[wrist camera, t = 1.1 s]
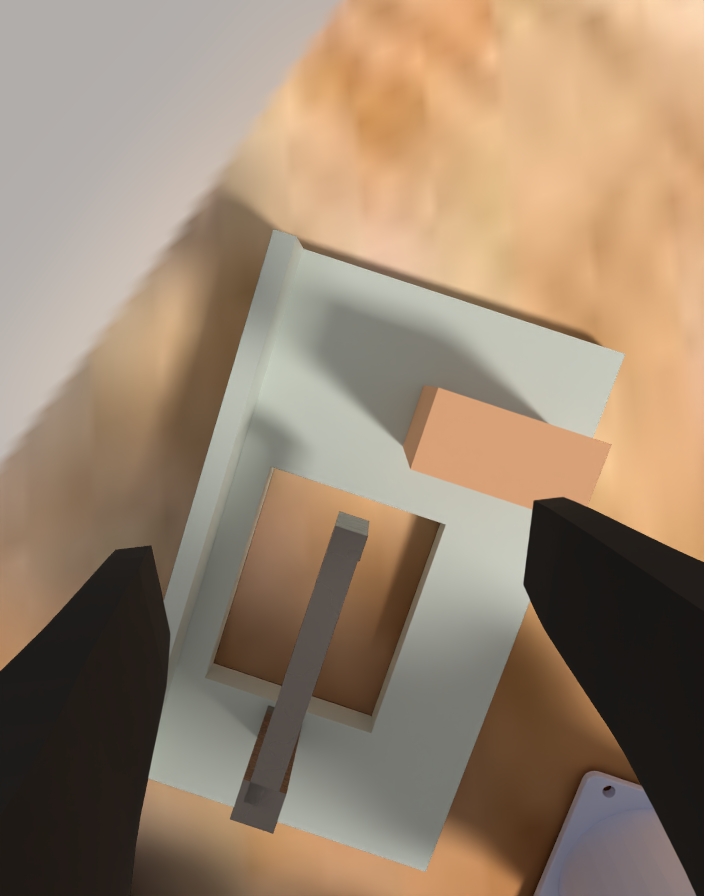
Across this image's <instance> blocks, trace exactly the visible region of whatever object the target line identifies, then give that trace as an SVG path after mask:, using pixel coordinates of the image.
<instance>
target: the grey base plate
mask: <svg viewBox="0 0 704 896" xmlns="http://www.w3.org/2000/svg"><path fill="white" fill-rule="evenodd" d="M624 356H625V354H624V353H621V352H618V351H614V350H611V349H608V348H605V347H602V346H599V345H596V344H593V343H590V342H587V341H584V340H581V339H578V338H575V337H572V336H569V335H566V334H563V333H560V332H556V331H553V330H550V329H547V328H544V327H541V326H538V325H535V324H532V323H529V322H526V321H523V320H520V319H517V318H514V317H511V316H508V315H505V314H502V313H499V312H495V311H492V310H489V309H486V308H483V307H480V306H477V305H474V304H471V303H468V302H465V301H462V300H459V299H456V298H453V297H450V296H447V295H444V294H441V293H437V292H434V291H431V290H428V289H425V288H422V287H419V286H416V285H413V284H410V283H407V282H404V281H401V280H398V279H395V278H392V277H389V276H386V275H383V274H379V273H376V272H373V271H370V270H367V269H364V268H361V267H358V266H355V265H352V264H349V263H346V262H343V261H340V260H337V259H334V258H331V257H328V256H325V255H321V254H318V253H315V252H312V251H309V250H306V249H304V248H303V247H302V245H301V243H300V242H299V240H298V238H297V237H296V236H293V235H290V234H287V233H284V232H281V231H278V230H275V229H273V232H272V236H271V239H270V242H269V246H268V249H267V253H266V256H265V259H264V263H263V266H262V270H261V273H260V276H259V280H258V283H257V286H256V290H255V293H254V297H253V300H252V303H251V307H250V310H249V314H248V317H247V320H246V324H245V327H244V331H243V334H242V337H241V341H240V344H239V347H238V351H237V354H236V358H235V361H234V364H233V368H232V371H231V375H230V378H229V381H228V385H227V388H226V392H225V395H224V398H223V402H222V405H221V408H220V412H219V415H218V419H217V422H216V425H215V429H214V432H213V436H212V439H211V442H210V446H209V449H208V453H207V456H206V459H205V463H204V466H203V469H202V473H201V476H200V480H199V483H198V486H197V490H196V493H195V497H194V500H193V503H192V507H191V510H190V513H189V517H188V520H187V524H186V527H185V530H184V534H183V537H182V541H181V544H180V547H179V551H178V554H177V558H176V561H175V564H174V568H173V571H172V574H171V578H170V581H169V585H168V588H167V591H166V595H165V598H164V606H165V611H166V615H167V620H168V624H169V629H170V633H171V635H170V650H169V664H168V676H167V687H166V692H165V698H164V703H163V708H162V713H161V718H160V723H159V728H158V733H157V738H156V743H155V748H154V752H153V757H152V762H151V767H150V772H149V777H148V779H151V780H154V781H157V782H160V783H163V784H166V785H169V786H172V787H175V788H178V789H181V790H184V791H187V792H190V793H193V794H196V795H199V796H202V797H204V798H207V799H210V800H213V801H216V802H219V803H222V804H225V805H228V806H231V807H234V805H235V802H236V799H237V796H238V793H239V790H240V787H241V784H242V781H243V778H244V775H245V772H246V769H247V766H248V763H249V760H250V757H251V754H252V751H253V748H254V745H255V742H256V739H257V737H258V734H259V731H260V728H261V725H262V722H263V719H264V716H265V713H266V710H267V707H268V705H269V706H272V707H275V705H276V702H277V699H278V696H279V693H280V690H281V687H282V686H280V685H277V684H274V683H271V682H268V681H265V680H262V679H259V678H256V677H253V676H250V675H247V674H244V673H241V672H239V671H236V670H233V669H230V668H227V667H224V666H221V665H218V664H215V663H214V659H215V656H216V653H217V650H218V647H219V643H220V640H221V637H222V634H223V631H224V627H225V624H226V621H227V618H228V615H229V611H230V608H231V605H232V602H233V599H234V595H235V592H236V589H237V586H238V583H239V579H240V576H241V573H242V570H243V567H244V563H245V560H246V557H247V554H248V550H249V547H250V544H251V541H252V538H253V534H254V531H255V528H256V525H257V522H258V518H259V515H260V512H261V509H262V506H263V502H264V499H265V496H266V493H267V490H268V486H269V483H270V480H271V477H272V474H273V470H274V468H276V469H279V470H282V471H285V472H289V473H292V474H295V475H298V476H301V477H304V478H307V479H310V480H313V481H316V482H319V483H322V484H325V485H328V486H331V487H334V488H337V489H340V490H343V491H346V492H349V493H352V494H355V495H358V496H361V497H364V498H367V499H370V500H373V501H376V502H379V503H382V504H385V505H388V506H391V507H394V508H397V509H400V510H403V511H406V512H409V513H412V514H415V515H418V516H421V517H424V518H427V519H431V520H434V521H437V522H440V526H439V528H438V531H437V534H436V537H435V540H434V542H433V545H432V548H431V551H430V554H429V556H428V559H427V562H426V565H425V568H424V570H423V573H422V576H421V579H420V582H419V584H418V587H417V590H416V593H415V596H414V598H413V601H412V604H411V607H410V610H409V612H408V615H407V618H406V621H405V624H404V626H403V629H402V632H401V635H400V638H399V641H398V643H397V646H396V649H395V652H394V655H393V657H392V660H391V663H390V666H389V669H388V671H387V674H386V677H385V680H384V683H383V685H382V688H381V691H380V694H379V697H378V699H377V702H376V705H375V708H374V711H373V713H372V716H370V715H367V714H364V713H361V712H358V711H355V710H352V709H349V708H346V707H343V706H340V705H337V704H334V703H331V702H328V701H325V700H322V699H319V698H316V697H313V696H312V697H311V700H310V703H309V706H308V709H307V711H306V714H305V717H304V720H303V723H302V727H301V732H300V736H299V741H298V745H297V750H296V754H295V759H294V763H293V768H292V772H291V777H290V781H289V785H288V790H287V794H286V797H285V800H284V803H283V806H282V809H281V812H280V815H279V818H278V821H277V822H279V823H282V824H285V825H288V826H291V827H294V828H297V829H300V830H303V831H306V832H309V833H312V834H315V835H318V836H321V837H324V838H326V839H329V840H332V841H335V842H338V843H341V844H344V845H347V846H350V847H353V848H356V849H359V850H362V851H365V852H368V853H371V854H374V855H377V856H380V857H383V858H386V859H389V860H392V861H395V862H398V863H401V864H404V865H407V866H410V867H413V868H416V869H419V870H422V871H425V872H426V870H427V867H428V864H429V862H430V859H431V857H432V854H433V851H434V849H435V846H436V844H437V841H438V838H439V836H440V833H441V831H442V828H443V825H444V823H445V820H446V818H447V815H448V812H449V810H450V807H451V805H452V802H453V799H454V797H455V794H456V792H457V789H458V786H459V784H460V781H461V779H462V776H463V774H464V771H465V768H466V766H467V763H468V761H469V758H470V755H471V753H472V750H473V748H474V745H475V742H476V740H477V737H478V735H479V732H480V729H481V727H482V724H483V722H484V719H485V716H486V714H487V711H488V709H489V706H490V703H491V701H492V698H493V696H494V693H495V691H496V688H497V685H498V683H499V680H500V678H501V675H502V672H503V670H504V667H505V665H506V662H507V659H508V657H509V654H510V652H511V649H512V646H513V644H514V641H515V639H516V636H517V633H518V631H519V628H520V626H521V623H522V620H523V618H524V615H525V613H526V610H527V608H528V605H529V602H530V599H529V596H528V594H527V592H526V590H525V588H524V585H523V581H524V573H525V565H526V557H527V549H528V541H529V533H530V525H531V517H532V509H529V508H526V507H523V506H520V505H517V504H514V503H511V502H508V501H505V500H502V499H499V498H496V497H493V496H490V495H487V494H484V493H481V492H478V491H475V490H472V489H469V488H466V487H463V486H460V485H457V484H453V483H450V482H447V481H444V480H441V479H438V478H435V477H432V476H429V475H426V474H423V473H420V472H417V471H414V470H411V469H410V467H409V464H408V461H407V458H406V455H405V452H404V449H403V444H404V441H405V438H406V435H407V433H408V430H409V427H410V424H411V421H412V418H413V415H414V412H415V409H416V406H417V403H418V400H419V397H420V394H421V392H422V389H423V386H424V385H426V386H432V387H438V388H441V389H445V390H448V391H451V392H454V393H457V394H460V395H463V396H466V397H469V398H472V399H475V400H478V401H481V402H484V403H487V404H490V405H493V406H496V407H499V408H502V409H505V410H508V411H511V412H514V413H517V414H521V415H524V416H527V417H530V418H533V419H536V420H539V421H542V422H545V423H548V424H551V425H554V426H557V427H560V428H563V429H566V430H569V431H572V432H575V433H578V434H581V435H584V436H587V437H590V438H593V436H594V434H595V431H596V429H597V426H598V423H599V421H600V418H601V416H602V413H603V410H604V408H605V405H606V403H607V400H608V397H609V395H610V392H611V390H612V387H613V384H614V382H615V379H616V377H617V374H618V371H619V369H620V366H621V364H622V361H623V358H624Z"/></svg>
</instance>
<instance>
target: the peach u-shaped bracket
mask: <svg viewBox="0 0 704 896" xmlns="http://www.w3.org/2000/svg"><path fill="white" fill-rule="evenodd" d="M611 445H612V444H609V443H606V442H603V441H600V440H596V439H593V438H590V437H587V436H584V435H581V434H578V433H575V432H572V431H569V430H566V429H563V428H560V427H557V426H554V425H551V424H548V423H545V422H542V421H539V420H536V419H533V418H530V417H527V416H524V415H521V414H517V413H514V412H511V411H508V410H505V409H502V408H499V407H496V406H493V405H490V404H487V403H484V402H481V401H478V400H475V399H472V398H469V397H466V396H463V395H460V394H457V393H454V392H451V391H448V390H445V389H441V388H438V387H432V386H426V385H424V386H423V389H422V392H421V394H420V397H419V400H418V403H417V406H416V409H415V412H414V415H413V418H412V421H411V424H410V427H409V430H408V433H407V435H406V438H405V441H404V444H403V449H404V452H405V455H406V458H407V461H408V464H409V467H410V469H411V470H414V471H417V472H420V473H423V474H426V475H429V476H432V477H435V478H438V479H441V480H444V481H447V482H450V483H453V484H457V485H460V486H463V487H466V488H469V489H472V490H475V491H478V492H481V493H484V494H487V495H490V496H493V497H496V498H499V499H502V500H505V501H508V502H511V503H514V504H517V505H520V506H523V507H526V508H529V509H533V501H534V500H540V499H548V498H557V497H565V498H568V499H570V500H573V501H575V502H577V503H580V504H582V505H584V506H586V507H587V506H588V504H589V501H590V499H591V496H592V493H593V491H594V488H595V486H596V483H597V481H598V478H599V476H600V473H601V470H602V468H603V465H604V463H605V460H606V458H607V455H608V452H609V450H610V447H611Z"/></svg>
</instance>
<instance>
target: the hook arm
mask: <svg viewBox="0 0 704 896" xmlns="http://www.w3.org/2000/svg"><path fill="white" fill-rule="evenodd" d="M368 528H369V521H367V520H364V519H361V518H358V517H355V516H352V515H349V514H346V513H343V512H340V511H339V514H338V518H337V521H336V524H335V527H334V530H333V533H332V536H331V539H330V542H329V545H328V548H327V551H326V554H325V557H324V560H323V563H322V566H321V569H320V572H319V575H318V578H317V581H316V584H315V587H314V590H313V593H312V596H311V599H310V602H309V605H308V608H307V611H306V614H305V617H304V620H303V623H302V626H301V629H300V632H299V635H298V638H297V641H296V644H295V647H294V650H293V653H292V656H291V659H290V662H289V665H288V668H287V671H286V675H285V678H284V681H283V684H282V687H281V690H280V693H279V696H278V699H277V702H276V705H275V707H272V706H269V705H268V707H267V710H266V713H265V716H264V719H263V722H262V725H261V728H260V731H259V734H258V737H257V739H256V742H255V745H254V748H253V751H252V754H251V757H250V760H249V763H248V766H247V769H246V772H245V775H244V778H243V781H242V784H241V787H240V790H239V793H238V796H237V799H236V802H235V805H234V808H233V811H232V814H231V817H230V819H231V820H234V821H237V822H240V823H243V824H246V825H249V826H252V827H255V828H258V829H261V830H264V831H267V832H270V833H273V832H274V829H275V826H276V824H277V821H278V818H279V815H280V812H281V809H282V806H283V803H284V800H285V797H286V794H287V790H288V785H289V781H290V777H291V772H292V768H293V763H294V759H295V754H296V750H297V745H298V741H299V736H300V732H301V727H302V723H303V720H304V717H305V714H306V711H307V709H308V706H309V703H310V700H311V697H312V694H313V691H314V688H315V685H316V682H317V679H318V676H319V673H320V670H321V667H322V664H323V661H324V658H325V656H326V653H327V650H328V647H329V644H330V641H331V638H332V635H333V632H334V629H335V626H336V623H337V620H338V617H339V614H340V611H341V608H342V605H343V603H344V600H345V597H346V594H347V591H348V588H349V585H350V582H351V579H352V576H353V573H354V570H355V567H356V564H357V561H360V558H361V555H362V552H363V549H364V546H365V543H366V540H367V537H368Z"/></svg>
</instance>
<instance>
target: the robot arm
mask: <svg viewBox="0 0 704 896" xmlns="http://www.w3.org/2000/svg"><path fill="white" fill-rule="evenodd" d="M523 585H524V588H525V590H526V592H527V594H528V596H529V599H530V601H531V603H532V605H533V607H534V610H535V612H536V614H537V616H538V618H539V620H540V622H541V624H542V626H543V628H544V630H545V631H546V633H547V634H548V636H549V638H550V639H551V641H552V642H553V644H554V645H555V647H556V648H557V650H558V652H559V653H560V655H561V656H562V658H563V659H564V661H565V662H566V664H567V665H568V667H569V668H570V670H571V671H572V673H573V674H574V676H575V677H576V679H577V681H578V682H579V684H580V685H581V687H582V688H583V690H584V691H585V693H586V694H587V696H588V697H589V699H590V700H591V702H592V703H593V705H594V706H595V708H596V709H597V711H598V712H599V714H600V715H601V717H602V718H603V720H604V721H605V723H606V724H607V726H608V727H609V729H610V730H611V732H612V734H613V735H614V737H615V739H616V740H617V742H618V744H619V745H620V747H621V749H622V750H623V752H624V754H625V755H626V757H627V759H628V761H629V763H630V765H631V767H632V768H633V770H634V772H635V774H636V776H637V778H638V780H639V782H640V784H641V785H642V786H641V785H638V784H635V783H632V782H629V781H626V780H623V779H620V778H617V777H614V776H611V775H608V774H605V773H602V772H599V771H590V772H588V773H586V774H585V775H584V777H583V778H582V781H581V783H580V785H579V788H578V790H577V793H576V795H575V797H574V800H573V802H572V805H571V807H570V809H569V812H568V814H567V817H566V819H565V821H564V824H563V826H562V829H561V831H560V833H559V836H558V838H557V841H556V843H555V845H554V848H553V850H552V853H551V855H550V857H549V860H548V862H547V865H546V867H545V869H544V872H543V874H542V877H541V879H540V881H539V884H538V886H537V889H536V891H535V893H534V896H704V562H702V561H700V560H697V559H695V558H693V557H691V556H688V555H686V554H684V553H682V552H680V551H678V550H675V549H673V548H671V547H669V546H667V545H665V544H663V543H661V542H658V541H656V540H654V539H652V538H650V537H648V536H646V535H644V534H642V533H640V532H638V531H636V530H634V529H632V528H630V527H628V526H626V525H624V524H622V523H620V522H618V521H615V520H613V519H611V518H609V517H607V516H605V515H603V514H601V513H599V512H597V511H595V510H593V509H591V508H589V507H586V506H584V505H582V504H580V503H577V502H575V501H573V500H570V499H568V498H565V497H557V498H548V499H540V500H534V501H533V509H532V517H531V525H530V533H529V541H528V549H527V557H526V565H525V573H524V581H523ZM170 635H171V633H170V629H169V624H168V620H167V615H166V611H165V606H164V602H163V597H162V592H161V588H160V583H159V579H158V574H157V570H156V565H155V561H154V556H153V552H152V547H151V546H143V547H135V548H127V549H118V550H115V551H114V552H113V553H112V554H111V555H110V556H109V557H108V559H107V560H106V561H105V562H104V563H103V564H102V565H101V566H100V567H99V568H98V570H97V571H96V572H95V573H94V574H93V575H92V576H91V577H90V579H89V580H88V581H87V582H86V583H85V584H84V585H83V586H82V588H81V589H80V590H79V591H78V592H77V593H76V594H75V595H74V596H73V598H72V599H71V600H70V601H69V602H68V603H67V604H66V605H65V606H64V607H63V608H62V610H61V611H60V612H59V613H58V614H57V615H56V616H55V617H54V618H53V619H52V620H51V621H50V622H49V624H48V625H47V626H46V627H45V628H44V629H43V630H42V631H41V632H40V633H39V634H38V635H37V636H36V637H35V638H34V639H33V640H32V641H31V642H30V643H29V644H28V645H27V646H26V647H25V648H24V649H23V650H22V651H21V652H20V653H19V654H18V655H17V656H16V657H14V658H13V659H12V660H11V661H10V662H9V663H8V664H7V665H6V666H5V667H4V668H3V669H2V670H1V671H0V896H130V893H131V884H132V874H133V865H134V856H135V847H136V841H137V835H138V828H139V822H140V816H141V811H142V806H143V801H144V796H145V791H146V787H147V782H148V777H149V772H150V767H151V762H152V757H153V752H154V748H155V743H156V738H157V733H158V728H159V723H160V718H161V713H162V708H163V703H164V698H165V692H166V687H167V676H168V664H169V650H170ZM606 786H611V788H610V789H609V790H607V791H603V789H604V787H606Z"/></svg>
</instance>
